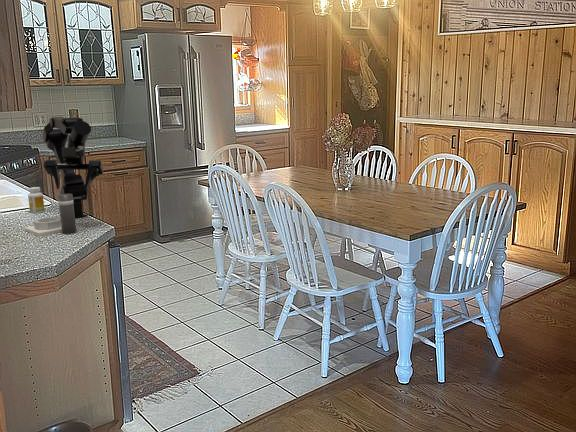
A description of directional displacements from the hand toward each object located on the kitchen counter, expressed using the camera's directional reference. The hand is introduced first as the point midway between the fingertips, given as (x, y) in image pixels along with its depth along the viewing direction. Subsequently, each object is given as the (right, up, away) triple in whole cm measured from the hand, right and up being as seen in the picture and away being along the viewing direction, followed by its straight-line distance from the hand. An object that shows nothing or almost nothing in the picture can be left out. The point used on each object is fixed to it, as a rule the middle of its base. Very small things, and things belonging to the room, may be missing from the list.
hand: (71, 188), depth 200 cm
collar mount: (-9, -14, +3) cm, 17 cm away
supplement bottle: (-26, -8, +33) cm, 42 cm away
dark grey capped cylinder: (-1, -15, -1) cm, 15 cm away
